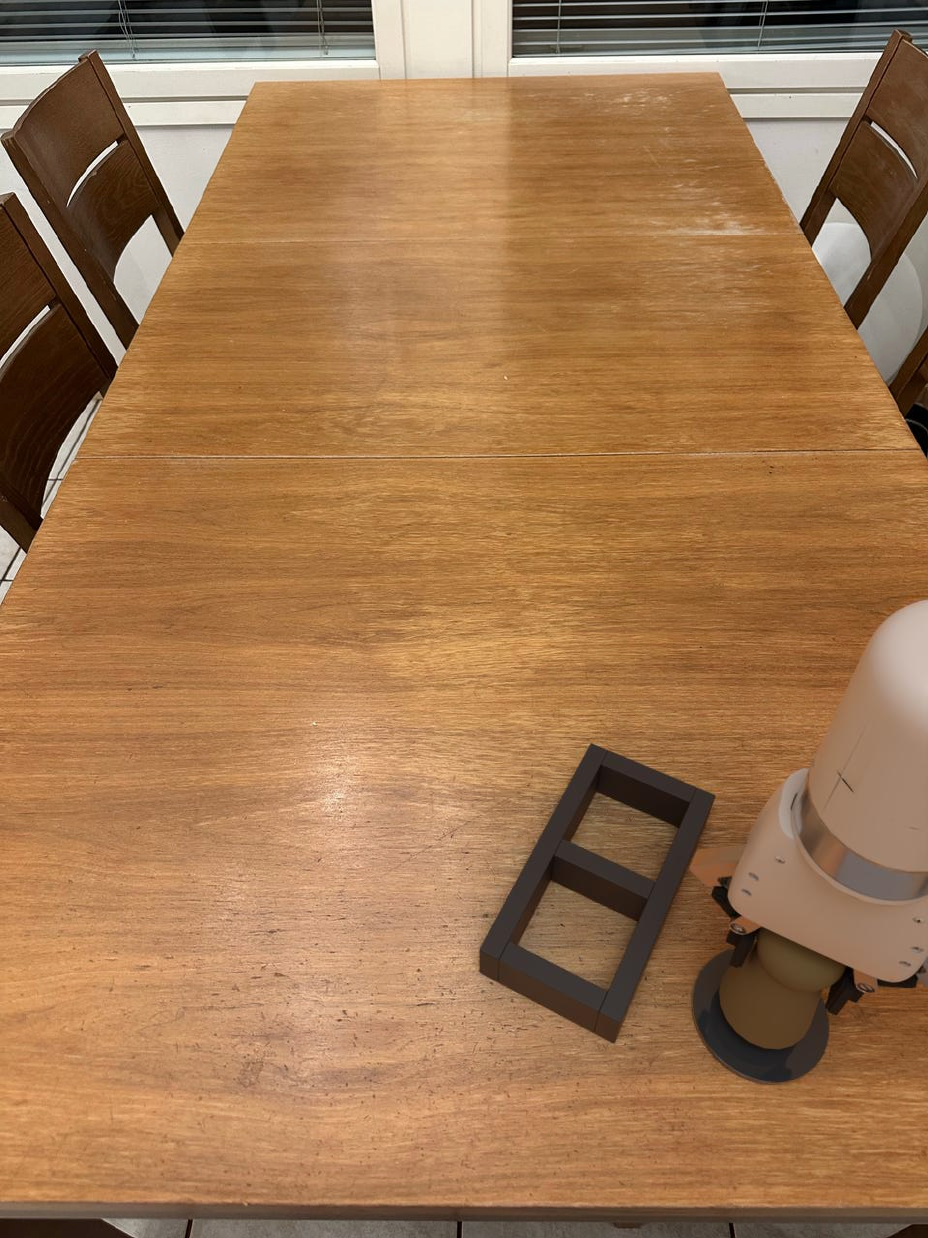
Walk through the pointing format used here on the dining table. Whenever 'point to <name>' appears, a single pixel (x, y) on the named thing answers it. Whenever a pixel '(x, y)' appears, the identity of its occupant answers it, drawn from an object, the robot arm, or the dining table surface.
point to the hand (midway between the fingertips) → (788, 967)
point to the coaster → (743, 1054)
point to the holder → (596, 889)
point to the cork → (776, 990)
